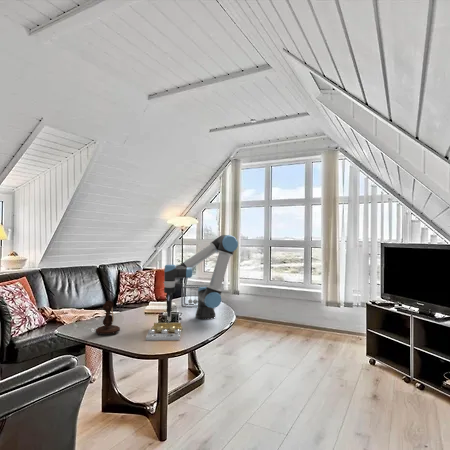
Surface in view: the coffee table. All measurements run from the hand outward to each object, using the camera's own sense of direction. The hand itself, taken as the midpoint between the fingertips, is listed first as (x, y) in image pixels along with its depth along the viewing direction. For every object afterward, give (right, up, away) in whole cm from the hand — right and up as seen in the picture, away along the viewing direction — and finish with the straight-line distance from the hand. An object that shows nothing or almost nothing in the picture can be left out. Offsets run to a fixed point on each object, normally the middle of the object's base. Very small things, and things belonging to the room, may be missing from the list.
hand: (168, 320), depth 246 cm
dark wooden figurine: (-36, -3, -19) cm, 41 cm away
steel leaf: (+1, -3, -28) cm, 29 cm away
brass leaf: (+1, -3, -14) cm, 15 cm away
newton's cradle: (+17, -4, +61) cm, 63 cm away
